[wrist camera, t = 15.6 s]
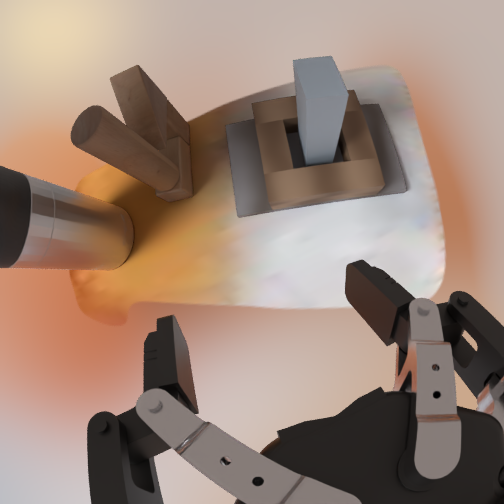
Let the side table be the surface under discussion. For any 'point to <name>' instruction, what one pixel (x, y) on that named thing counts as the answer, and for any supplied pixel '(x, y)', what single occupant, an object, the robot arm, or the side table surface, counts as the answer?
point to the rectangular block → (319, 108)
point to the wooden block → (140, 136)
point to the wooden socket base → (293, 166)
